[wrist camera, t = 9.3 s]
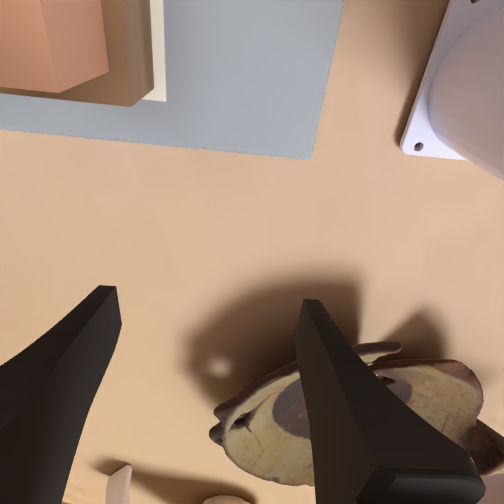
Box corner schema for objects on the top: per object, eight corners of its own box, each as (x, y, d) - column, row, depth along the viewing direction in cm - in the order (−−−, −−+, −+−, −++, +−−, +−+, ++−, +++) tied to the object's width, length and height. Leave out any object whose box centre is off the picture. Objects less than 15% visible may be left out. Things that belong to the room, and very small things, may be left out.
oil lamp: (309, 257, 25) (331, 339, 19) (545, 384, 35) (612, 467, 28) (177, 407, 36) (162, 491, 29) (385, 473, 45) (408, 547, 39)
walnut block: (146, -65, 15) (113, -92, 11) (154, 88, 18) (130, 107, 14) (-1, -86, 14) (-88, -122, 10) (35, 75, 18) (-21, 91, 14)
